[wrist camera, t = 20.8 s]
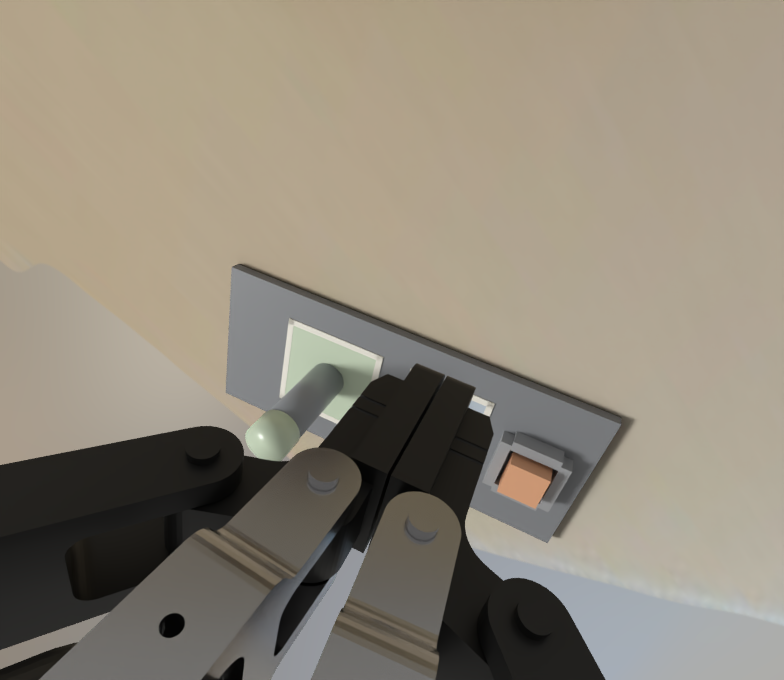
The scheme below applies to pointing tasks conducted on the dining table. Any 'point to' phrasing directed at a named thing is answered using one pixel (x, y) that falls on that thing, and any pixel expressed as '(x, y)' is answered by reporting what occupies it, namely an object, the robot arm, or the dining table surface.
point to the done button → (524, 480)
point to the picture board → (397, 357)
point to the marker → (294, 413)
